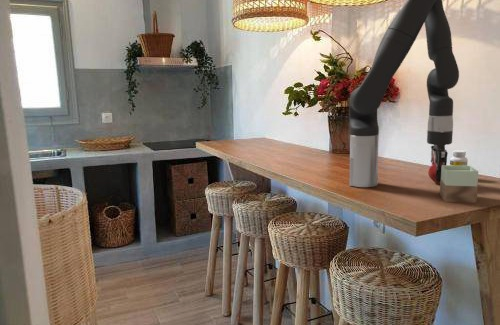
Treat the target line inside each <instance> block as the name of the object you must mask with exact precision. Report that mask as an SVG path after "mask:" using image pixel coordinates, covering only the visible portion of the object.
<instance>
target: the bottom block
mask: <svg viewBox="0 0 500 325" xmlns="http://www.w3.org/2000/svg"><path fill="white" fill-rule="evenodd" d="M439 195H440V197H441V198H442V200H443V201H444V202H446V203H466V204H467V203H470V204H477V203H478V202H477V200H478V185H477V186H449V185H445V184H444V182H443V181H442V180H441V179H440V183H439Z"/></svg>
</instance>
